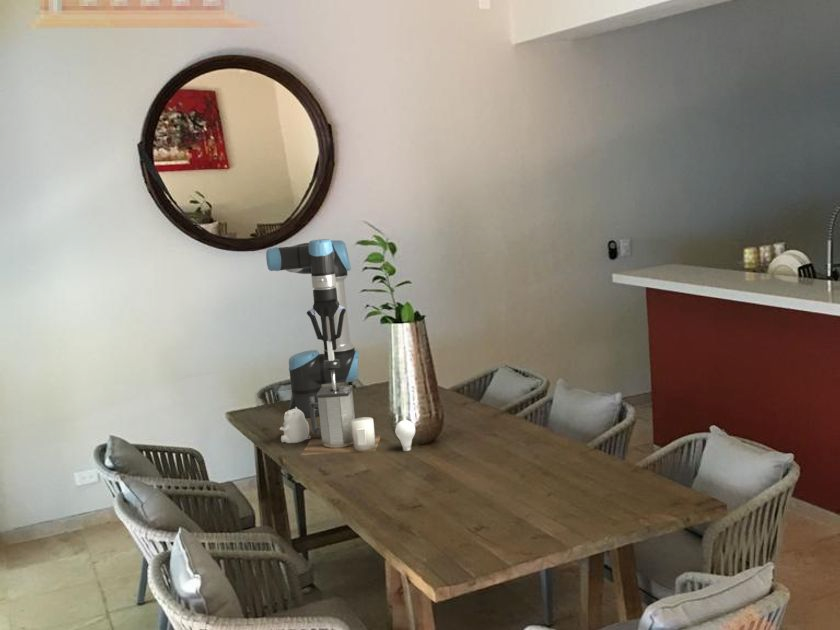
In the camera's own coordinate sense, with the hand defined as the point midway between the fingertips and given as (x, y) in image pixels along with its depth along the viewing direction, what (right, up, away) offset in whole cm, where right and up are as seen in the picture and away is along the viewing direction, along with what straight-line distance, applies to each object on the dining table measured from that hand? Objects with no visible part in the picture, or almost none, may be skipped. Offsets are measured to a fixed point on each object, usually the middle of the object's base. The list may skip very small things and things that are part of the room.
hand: (331, 360), depth 282 cm
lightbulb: (+25, -29, -8) cm, 39 cm away
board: (+3, -29, +3) cm, 30 cm away
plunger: (+1, -18, +3) cm, 18 cm away
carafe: (+1, -28, +5) cm, 28 cm away
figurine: (-13, -29, +14) cm, 35 cm away
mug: (+11, -28, -2) cm, 30 cm away
